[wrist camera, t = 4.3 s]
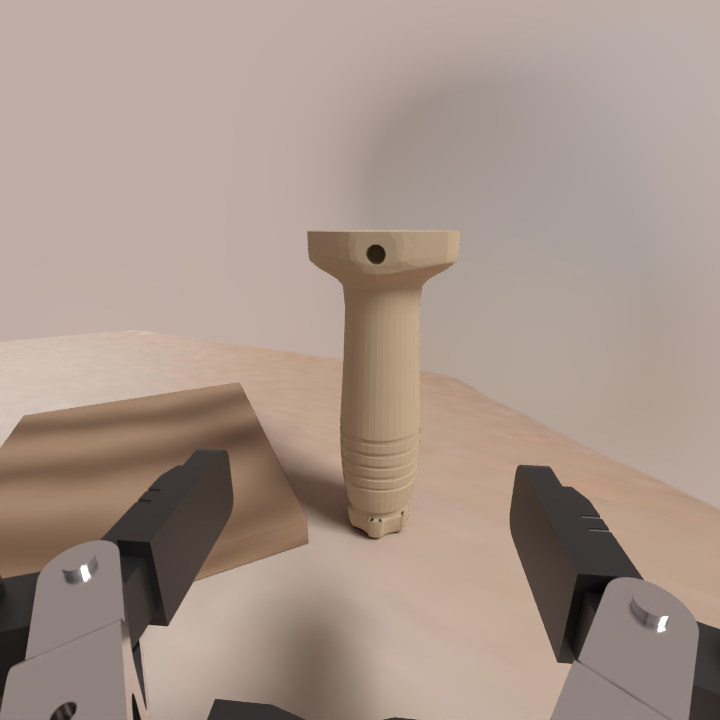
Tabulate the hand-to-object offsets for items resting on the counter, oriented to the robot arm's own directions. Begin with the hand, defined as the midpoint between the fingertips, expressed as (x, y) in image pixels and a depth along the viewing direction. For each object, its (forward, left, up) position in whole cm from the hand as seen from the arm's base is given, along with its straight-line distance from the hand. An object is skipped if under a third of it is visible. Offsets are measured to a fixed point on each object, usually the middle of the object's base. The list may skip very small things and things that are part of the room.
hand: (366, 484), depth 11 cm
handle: (-7, +4, -9) cm, 12 cm away
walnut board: (-17, -8, -8) cm, 21 cm away
